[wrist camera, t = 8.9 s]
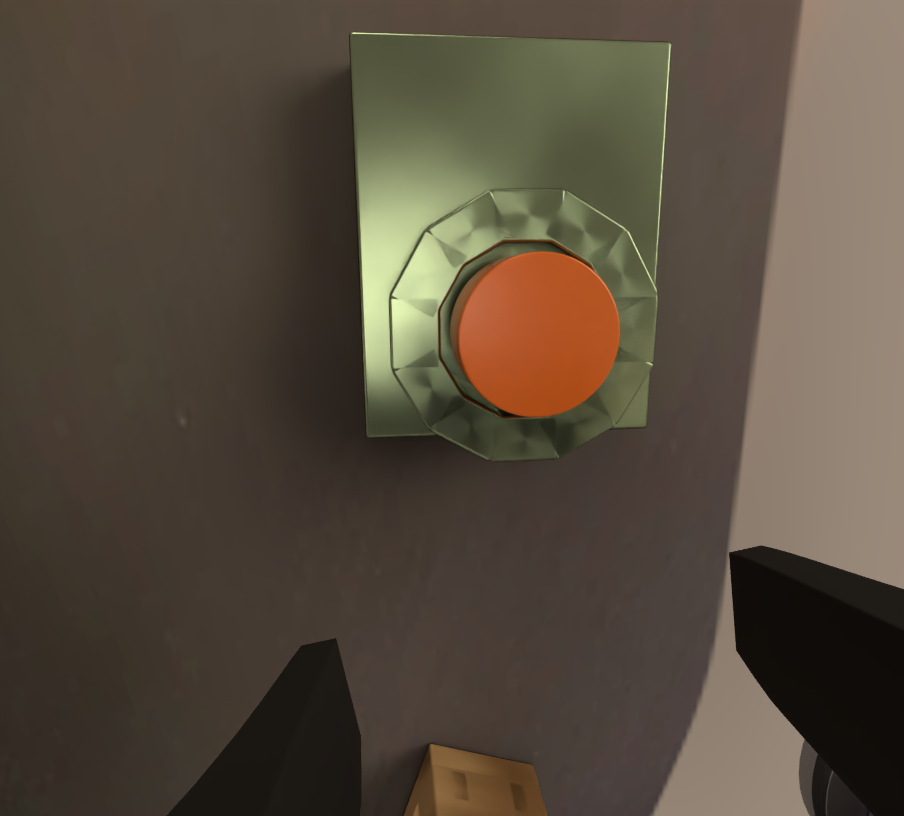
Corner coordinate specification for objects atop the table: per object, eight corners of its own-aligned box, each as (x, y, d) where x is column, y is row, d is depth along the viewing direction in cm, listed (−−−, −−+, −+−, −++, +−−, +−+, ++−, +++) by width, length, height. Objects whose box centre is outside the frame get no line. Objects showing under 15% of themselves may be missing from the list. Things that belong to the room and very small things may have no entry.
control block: (353, 63, 16) (342, -6, 12) (637, 70, 17) (711, 7, 13) (369, 428, 18) (362, 468, 14) (618, 419, 19) (677, 455, 15)
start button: (449, 255, 14) (456, 251, 12) (597, 254, 14) (625, 250, 13) (450, 403, 15) (458, 420, 13) (590, 399, 15) (616, 415, 13)
